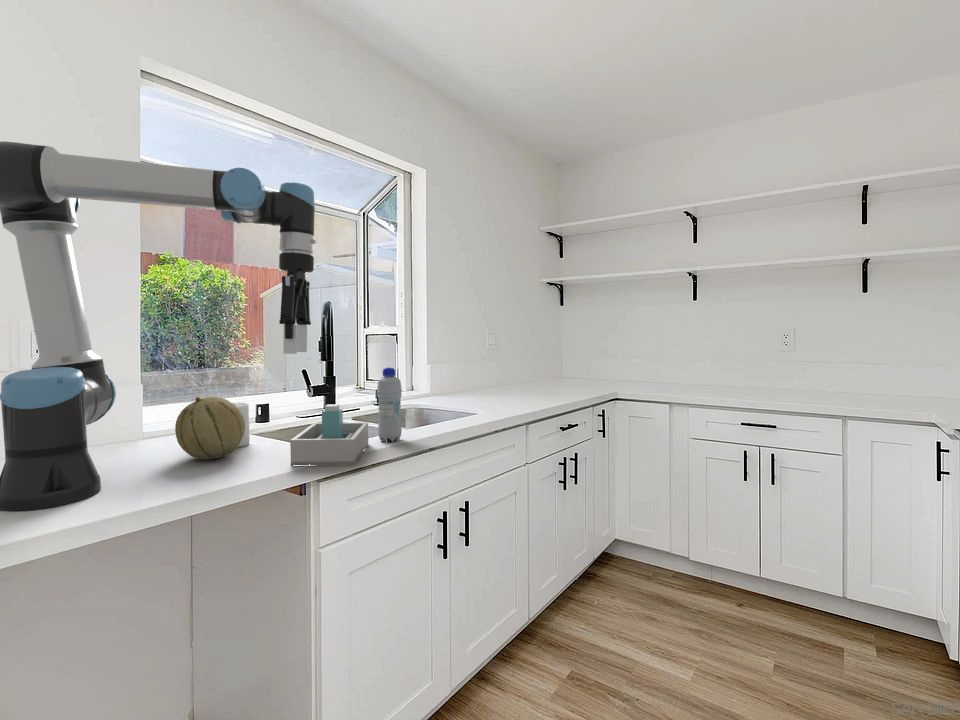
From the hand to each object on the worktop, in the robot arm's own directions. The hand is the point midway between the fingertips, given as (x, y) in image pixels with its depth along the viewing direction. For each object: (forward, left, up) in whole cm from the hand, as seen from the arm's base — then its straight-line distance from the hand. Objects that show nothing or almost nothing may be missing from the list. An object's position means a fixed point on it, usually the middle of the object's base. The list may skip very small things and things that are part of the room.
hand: (295, 352), depth 122 cm
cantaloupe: (+2, +21, -25) cm, 33 cm away
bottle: (+19, -19, -25) cm, 37 cm away
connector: (+3, -7, -24) cm, 26 cm away
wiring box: (+3, -7, -25) cm, 26 cm away
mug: (+14, +23, -25) cm, 37 cm away
